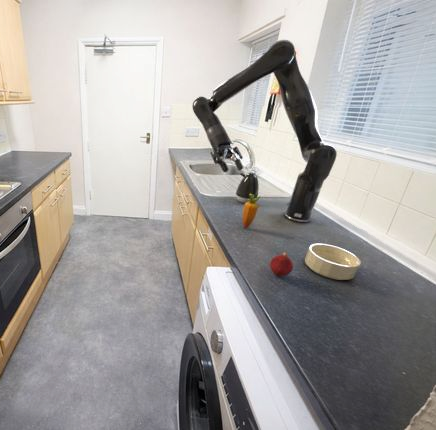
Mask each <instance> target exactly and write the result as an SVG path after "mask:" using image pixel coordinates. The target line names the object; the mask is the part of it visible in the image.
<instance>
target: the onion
mask: <svg viewBox="0 0 436 430" xmlns="http://www.w3.org/2000/svg"><path fill="white" fill-rule="evenodd" d="M269 268H270V271H271V272H272V273H273V274H274V275H276V276H277V277H284V276H288V275H289V274H290V273H292V271H293V268H294V264H293V261H292V260H291V258H290V257H289V256H288V253H287V252H283V253H282V254H278V255H276V256H274V257H272V258H271V259H270V262H269Z"/></svg>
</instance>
